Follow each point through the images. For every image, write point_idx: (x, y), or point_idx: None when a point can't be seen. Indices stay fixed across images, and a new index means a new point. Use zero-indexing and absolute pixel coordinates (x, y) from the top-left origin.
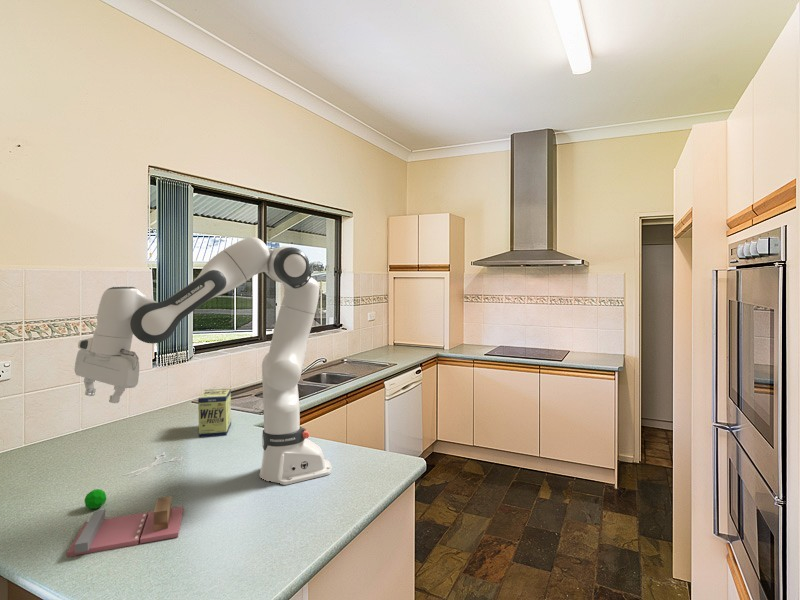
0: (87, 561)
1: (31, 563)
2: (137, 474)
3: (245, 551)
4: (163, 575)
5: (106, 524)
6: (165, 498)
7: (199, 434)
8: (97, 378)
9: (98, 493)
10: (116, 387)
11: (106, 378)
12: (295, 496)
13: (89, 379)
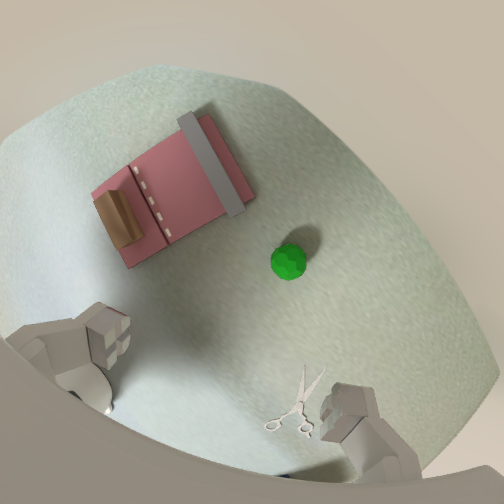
0: (172, 114)
1: (249, 95)
2: (302, 375)
3: (27, 186)
4: (74, 121)
5: (209, 194)
6: (119, 240)
7: (287, 477)
8: (197, 480)
9: (280, 261)
10: (17, 343)
11: (43, 424)
12: (38, 314)
13: (375, 482)
